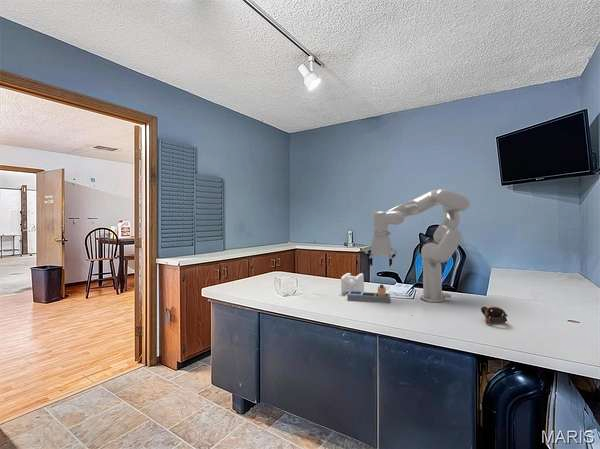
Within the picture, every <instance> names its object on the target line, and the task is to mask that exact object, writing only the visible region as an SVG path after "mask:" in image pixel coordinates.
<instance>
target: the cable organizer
mask: <svg viewBox="0 0 600 449" xmlns="http://www.w3.org/2000/svg"><path fill="white" fill-rule="evenodd" d="M364 280H365V279H364V273H363V272H361V273H359V274H357V275H356V276H355V275H352V273H351V272H347V273H345V274H343V275H342V276H341V278H340V282H341V287H340V288H341V294H342V295H346V294H348V292H349V290H350V291H364V290H365V284H364V283H365V281H364Z"/></svg>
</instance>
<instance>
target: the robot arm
mask: <svg viewBox="0 0 600 449" xmlns="http://www.w3.org/2000/svg"><path fill="white" fill-rule="evenodd" d="M470 204H471V203H470V200H469V198H468V197H467V196H466V195H463V194H461V193H458V192H456V191H455V192H454V191H451V190H449V189H445V188H438V189H432V190H430V191H428V192H425V193H423V194H421V195H419V196H418V197H415V198H413V199H411V200H409V201H405V202H404V203H402V204H399V205H397V206H395V207H393V208H391V209H389V210H387V211H385V210H384V211H381V210H380V211H379V210H378V211H374V212H373V236H372V237H371V244H370V247H368V248H366V249H364V254H365V255H366V256H367V258H369V265H370V266H371V267H372V266H373V262H374V261H373V257H374V256H388V258H389V259H388V262H389V263H388V266H389V267H391V266H392V265H393V259H394V258H395V257H396V256H397V254H398V250H397V249H395V248H393V247H391V239H390V238H391V237H390V236H391V235H392V233H391V232H390V231H389V225H392V226H394V225H395V226H397V225H401V224H402V223H403V222H404V220H405V218H406V217H407V218H408V217H410V216H416V215H420V214H422V213H424V212H425V211H428V210H429V209H432V208H434V207H435V206H442V210H443V212H444V213H443V219H442V220H441V222H440V223H439V225H438V227H437V228H436V230H435V231H434V233H433V240H434V242H428V243H425V244H424V245H423V246H422V247H421V253H420V255H421V258H422V276H423V277H422V285H423V286H422V287H423V289H422V293H423V294H422V295H420V300H421V301H424V302H427V303H444V302H445V301H446V299H445V298H450V299H451V298H452V294H451V293H446V292H445V293H444V292H443V290H442V288H443V286H442V285H443V280H442V278H443V277H442V274H443V273H442V272H443V270H442V263H446V262H448V261H449V260H450V259H451V257H452V256H453V254H454V253H455V251H456V250H457V249H458V247H459V245H460V244H461V241H462V233H461V231H460V230H459V229H458V227H459V224H460V223H461V216H460V213H459V212H465V211H466V210H467V209H469V207H470ZM435 242H436V243H435ZM369 251H370V253H371V254H370V253H369ZM392 252H393V254H392V255H391V253H392Z"/></svg>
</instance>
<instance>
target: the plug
mask: <svg viewBox="0 0 600 449" xmlns="http://www.w3.org/2000/svg"><path fill="white" fill-rule="evenodd" d="M386 288H387V287H386V286H385V285H384V284H379V286H377V293H378V296H383V297H386V293H387V289H386Z"/></svg>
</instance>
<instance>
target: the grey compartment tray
mask: <svg viewBox="0 0 600 449" xmlns="http://www.w3.org/2000/svg"><path fill="white" fill-rule="evenodd" d="M346 294H347V295H346V296H347V301H348V302H362V303H363V302H364V303H380V304H390V302H391V297H390V296H391V294H390V293H387V292H386V297H383V296H378V292H367V291H366V292H365V291H364V290H363V291H350V290H349V292H347V293H346Z"/></svg>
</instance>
